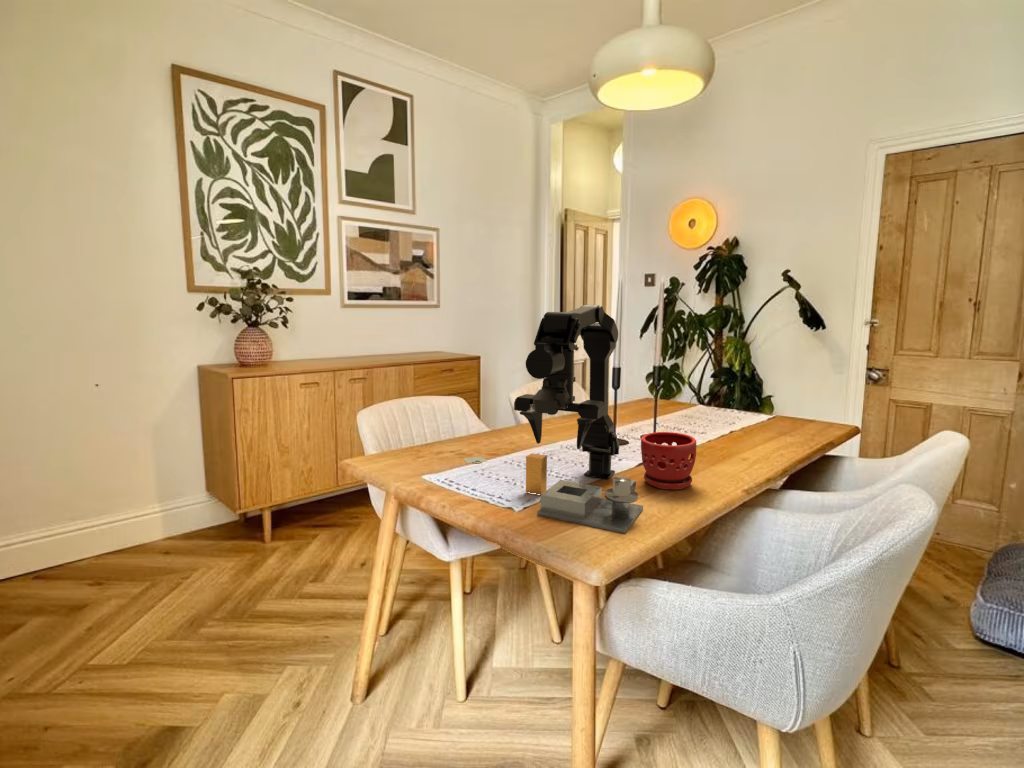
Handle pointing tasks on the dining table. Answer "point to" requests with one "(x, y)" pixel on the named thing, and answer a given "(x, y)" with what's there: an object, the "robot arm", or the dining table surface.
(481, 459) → the mounting bracket
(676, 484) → the plant pot
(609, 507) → the grey metal frame fixture
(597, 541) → the dining table surface
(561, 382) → the robot arm
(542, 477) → the rectangular wooden peg
